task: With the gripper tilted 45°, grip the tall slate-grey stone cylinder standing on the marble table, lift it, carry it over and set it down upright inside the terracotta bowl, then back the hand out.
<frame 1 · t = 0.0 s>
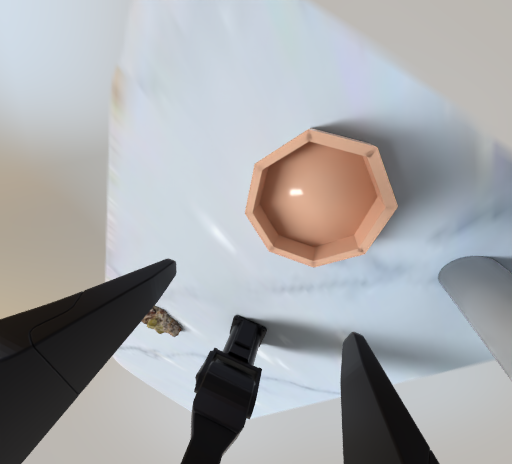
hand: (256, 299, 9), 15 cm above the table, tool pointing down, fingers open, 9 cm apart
mineral rock: (164, 316, 45), on the table
terracotta bowl: (313, 197, 21), on the table
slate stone: (468, 275, 20), on the table
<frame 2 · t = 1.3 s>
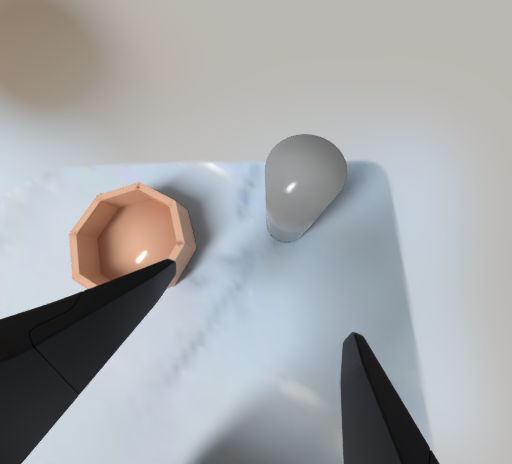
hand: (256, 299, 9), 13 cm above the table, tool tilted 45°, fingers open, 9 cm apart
terracotta bowl: (145, 243, 24), on the table
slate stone: (286, 223, 24), on the table
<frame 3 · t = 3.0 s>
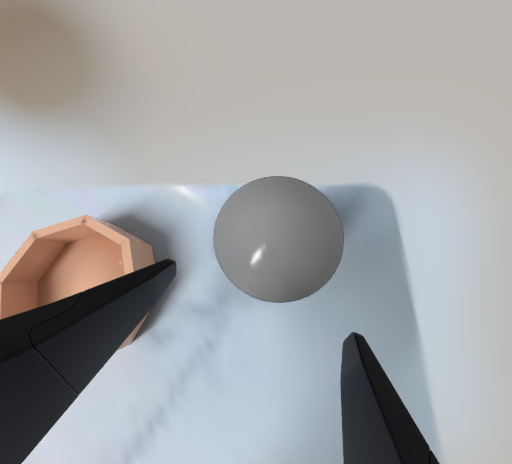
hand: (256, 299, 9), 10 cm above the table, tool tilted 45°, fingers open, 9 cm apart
terracotta bowl: (98, 287, 20), on the table
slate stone: (270, 261, 19), on the table
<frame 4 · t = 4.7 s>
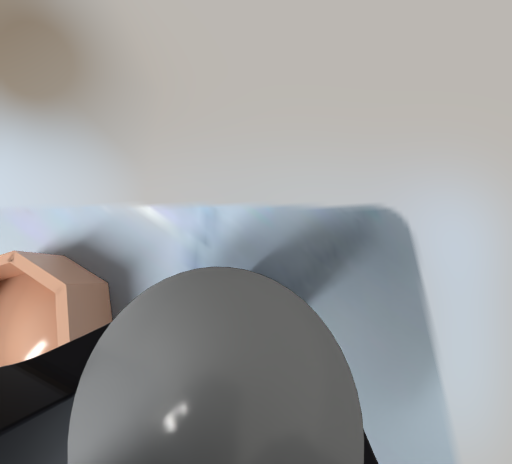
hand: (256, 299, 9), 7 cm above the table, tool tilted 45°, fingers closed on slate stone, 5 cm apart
terracotta bowl: (38, 337, 16), on the table
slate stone: (254, 306, 15), on the table, touching gripper
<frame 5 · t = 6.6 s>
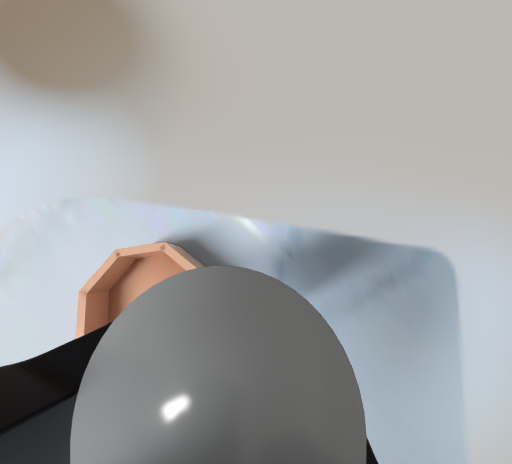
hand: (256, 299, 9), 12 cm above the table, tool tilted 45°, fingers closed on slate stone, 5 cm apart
terracotta bowl: (160, 304, 21), on the table
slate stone: (255, 306, 15), point 6 cm above the table, touching gripper
when the fingers open (9 cm above the table, at t = 8.6 s): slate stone drops 1 cm, resting on terracotta bowl.
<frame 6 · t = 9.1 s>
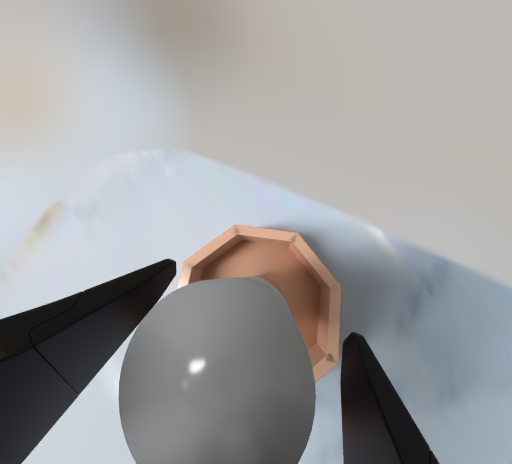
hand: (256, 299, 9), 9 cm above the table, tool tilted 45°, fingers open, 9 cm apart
terracotta bowl: (256, 302, 18), on the table
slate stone: (257, 304, 17), point 1 cm above the table, touching terracotta bowl
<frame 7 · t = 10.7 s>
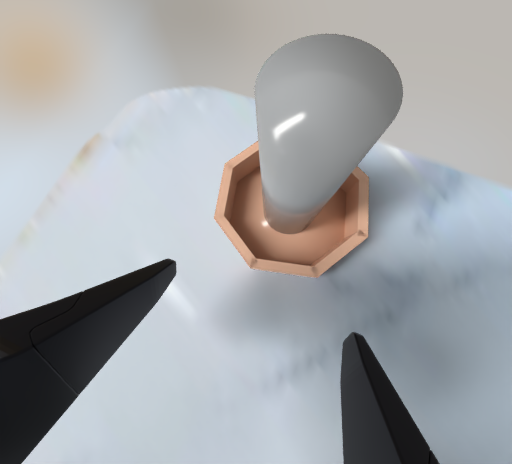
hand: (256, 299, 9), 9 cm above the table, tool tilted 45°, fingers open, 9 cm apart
terracotta bowl: (287, 211, 19), on the table
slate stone: (288, 209, 19), point 1 cm above the table, touching terracotta bowl
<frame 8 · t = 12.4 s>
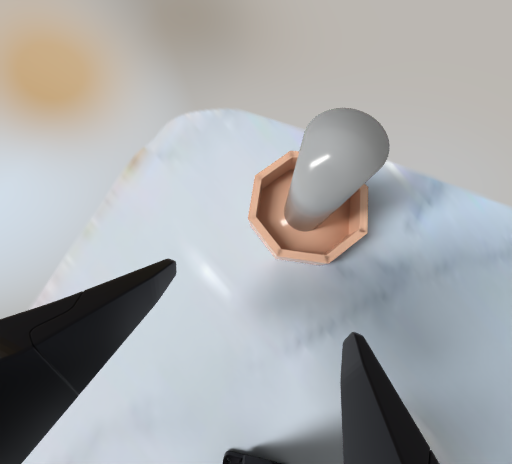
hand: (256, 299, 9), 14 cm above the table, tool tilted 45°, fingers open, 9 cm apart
terracotta bowl: (302, 213, 24), on the table
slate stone: (304, 211, 23), point 1 cm above the table, touching terracotta bowl
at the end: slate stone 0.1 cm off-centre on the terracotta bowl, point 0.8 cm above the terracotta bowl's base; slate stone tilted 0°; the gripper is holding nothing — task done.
